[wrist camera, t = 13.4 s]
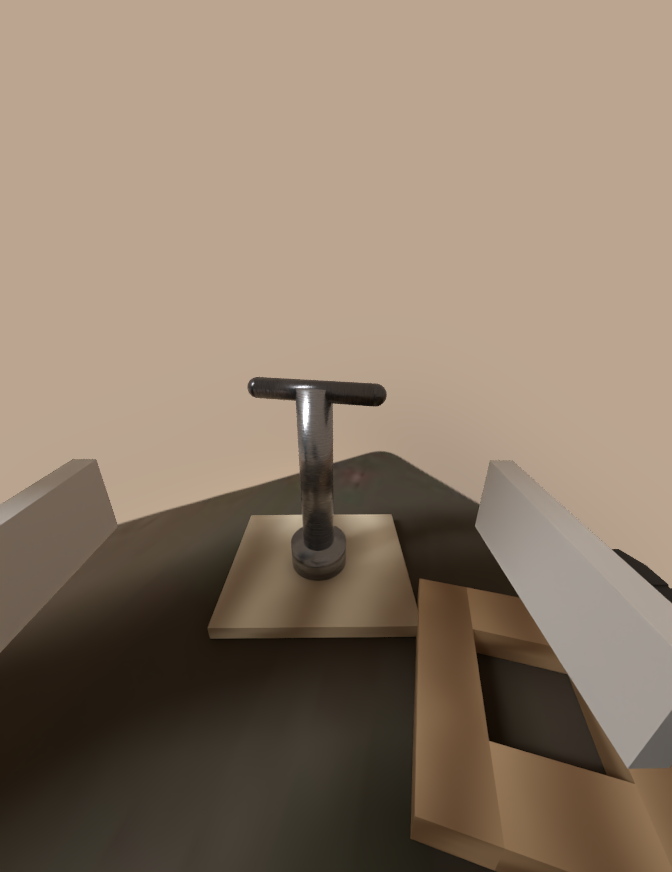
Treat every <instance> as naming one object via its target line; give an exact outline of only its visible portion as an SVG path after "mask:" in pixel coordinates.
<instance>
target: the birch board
mask: <svg viewBox="0 0 672 872" xmlns="http://www.w3.org/2000/svg"><path fill="white" fill-rule="evenodd" d="M333 519H334V526H336V527H338V528H339V529H341V530H342V531H343V533H344V534H345V537H346V564H345V566H344V568H343V570H342V571H341V572H340V573H339V574H338V575H337V576H335V577H333V578H331V579H328V580H323V581H312V580H308V579H305V578H303V577H301V576H300V575H298V574H297V573H296V571H295V570H294V568H293V563H292V550H291V539H292V537H293V535H294V533H295V532H296V531H297V530H298V529H300V528H301V527H303V521H302V515H251V518H250V521H249V523H248V526H247V528H246V531H245V533H244V536H243V538H242V541H241V544H240V546H239V549H238V551H237V554H236V556H235V559H234V561H233V564H232V567H231V569H230V572H229V574H228V577H227V579H226V582H225V584H224V587H223V590H222V592H221V595H220V597H219V600H218V602H217V605H216V607H215V610H214V613H213V615H212V618H211V620H210V623H209V625H208V628H207V629H208V633H209V637H210V639H228V638H333V637H416V634H417V626H418V608H417V605H416V601H415V597H414V594H413V590H412V587H411V583H410V579H409V576H408V572H407V569H406V565H405V561H404V558H403V554H402V551H401V547H400V543H399V540H398V536H397V533H396V529H395V525H394V522H393V518H392V515H391V514H376V515H333Z"/></svg>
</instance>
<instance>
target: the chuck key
mask: <svg viewBox="0 0 672 872" xmlns="http://www.w3.org/2000/svg"><path fill="white" fill-rule="evenodd" d="M248 391H249V393H250V394H251V395H252V396H253V397H256V398H266V399H280V400H294V401H296V410H297V428H298V447H299V465H300V484H301V503H302V521H303V527H301V528H300V529H298V530H297V531H296V532H295V533H294V535H293V537H292V539H291V550H292V563H293V568H294V570H295V571H296V573H297V574H298V575H300V576H301V577H303V578H305V579H308V580H312V581H323V580H328V579H331V578H333V577H335V576H337V575H338V574H339V573H340V572H341V571H342V570H343V568H344V566H345V564H346V537H345V534H344V533H343V531H342V530H341V529H339V528H338V527H336V526H334V519H333V411H332V410H333V408H332V407H333V406H332V405H333V403H335V404H349V405H363V406H379V405H381V404H382V403H383V402H384V401H385V400H386V390H385V389H384V387H383V386H381V385H379V384H372V383H354V382H335V381H318V380H300V379H281V378H264V377H256V378H253V379H251V380H250V381H249V383H248Z"/></svg>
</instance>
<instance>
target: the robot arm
mask: <svg viewBox="0 0 672 872" xmlns="http://www.w3.org/2000/svg"><path fill="white" fill-rule="evenodd" d="M117 527H118V525H117V522H116V519H115V515H114V512H113V509H112V506H111V503H110V500H109V497H108V494H107V491H106V488H105V485H104V482H103V479H102V476H101V473H100V470H99V466H98V463H97V460H96V459H72V460H71V461H69V462H68V463H66V464H64V465H63V466H61V467H60V468H58V469H57V470H55V471H53V472H52V473H50V474H48V475H47V476H45V477H44V478H42V479H40V480H39V481H37V482H36V483H34V484H32V485H31V486H29V487H28V488H26V489H24V490H23V491H21V492H20V493H18V494H17V495H15V496H13V497H12V498H10V499H8V500H7V501H5V502H4V503H2V504H0V652H1V651H2V650H3V649H4V648H5V647H6V646H7V645H8V644H9V643H10V642H11V641H12V640H13V639H14V637H15V636H16V635H17V634H18V633H19V632H20V631H21V630H22V629H23V628H24V627H25V626H26V625H27V624H28V622H29V621H30V620H31V619H32V618H33V617H34V616H35V615H36V614H37V613H38V612H39V611H40V610H41V609H42V607H43V606H44V605H45V604H46V603H47V602H48V601H49V600H50V599H51V598H52V597H53V596H54V595H55V594H56V592H57V591H58V590H59V589H60V588H61V587H62V586H63V585H64V584H65V583H66V582H67V581H68V580H69V579H70V577H71V576H72V575H73V574H74V573H75V572H76V571H77V570H78V569H79V568H80V567H81V566H82V565H83V564H84V562H85V561H86V560H87V559H88V558H89V557H90V556H91V555H92V554H93V553H94V552H95V551H96V550H97V549H98V547H99V546H100V545H101V544H102V543H103V542H104V541H105V540H106V539H107V538H108V537H109V536H110V535H111V534H112V532H113V531H114V530H115V529H116V528H117ZM475 527H476V529H477V530H478V532H479V533H480V535H481V537H482V538H483V540H484V541H485V543H486V545H487V546H488V548H489V549H490V551H491V553H492V554H493V556H494V557H495V559H496V560H497V562H498V564H499V565H500V567H501V568H502V570H503V572H504V573H505V575H506V576H507V578H508V580H509V581H510V583H511V584H512V586H513V587H514V589H515V591H516V592H517V594H518V595H519V597H520V599H521V600H522V602H523V603H524V605H525V607H526V608H527V610H528V611H529V613H530V614H531V616H532V618H533V619H534V621H535V622H536V624H537V626H538V627H539V629H540V630H541V632H542V634H543V635H544V637H545V638H546V640H547V641H548V643H549V645H550V646H551V648H552V649H553V651H554V653H555V654H556V656H557V657H558V659H559V661H560V662H561V664H562V665H563V667H564V668H565V670H566V672H567V673H568V675H569V676H570V678H571V680H572V681H573V683H574V684H575V686H576V688H577V689H578V691H579V692H580V694H581V695H582V697H583V699H584V700H585V702H586V703H587V705H588V707H589V708H590V710H591V711H592V713H593V715H594V716H595V718H596V719H597V721H598V722H599V724H600V726H601V727H602V729H603V730H604V732H605V734H606V735H607V737H608V738H609V740H610V742H611V743H612V745H613V746H614V748H615V750H616V751H617V753H618V754H619V756H620V757H621V759H622V761H623V762H624V764H625V765H626V767H627V769H644V768H670V767H671V766H672V589H670V588H669V587H668V584H667V583H666V582H665V581H664V580H662V579H661V578H660V577H659V576H658V575H656V574H655V573H654V572H653V571H652V570H650V569H649V568H648V567H647V566H646V565H644V564H643V563H641V562H639V561H638V560H636V559H634V558H633V557H631V556H629V555H627V554H626V553H624V552H622V551H621V550H619V549H611V548H609V547H608V546H607V545H606V544H605V543H604V542H603V541H602V540H600V539H599V538H598V537H597V536H596V535H595V534H593V532H591V531H590V530H589V529H588V528H587V527H586V526H585V525H584V524H583V523H581V522H580V521H579V520H578V519H577V518H576V517H575V516H574V515H573V514H571V513H570V512H569V511H568V510H567V509H566V508H565V507H564V506H563V505H561V504H560V503H559V502H558V501H557V500H556V499H555V498H554V497H553V496H551V495H550V494H549V493H548V492H547V491H546V490H545V489H543V487H541V486H540V485H539V484H538V483H537V482H536V481H535V480H534V479H532V478H531V477H530V476H529V475H528V474H527V473H526V472H525V471H524V470H522V469H521V468H520V467H519V466H518V465H517V464H516V463H515V462H513V461H490V463H489V467H488V472H487V476H486V481H485V485H484V490H483V493H482V498H481V502H480V506H479V511H478V515H477V520H476V524H475Z"/></svg>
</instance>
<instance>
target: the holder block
mask: <svg viewBox="0 0 672 872" xmlns="http://www.w3.org/2000/svg"><path fill="white" fill-rule="evenodd" d="M417 608H418V626H417V634H416V658H415V693H414V729H413V765H412V800H411V836H410V839H412V840H415V841H418V842H420V843H423V844H425V845H428V846H431V847H433V848H436V849H439V850H441V851H444V852H447V853H449V854H452V855H454V856H457V857H460V858H462V859H465V860H468V861H470V862H473V863H475V864H478V865H481V866H483V867H486V868H489V869H491V870H494V871H496V872H672V766H671V767H670V768H644V769H627V767H626V765H625V764H624V762H623V761H622V759H621V757H620V756H619V754H618V753H617V751H616V750H615V748H614V746H613V745H612V743H611V742H610V740H609V738H608V737H607V735H606V734H605V732H604V730H603V729H602V727H601V726H600V724H599V722H598V721H597V719H596V718H595V716H594V715H593V713H592V711H591V710H590V708H589V707H588V705H587V703H586V702H585V700H584V699H583V697H582V695H581V694H580V692H579V691H578V689H577V688H576V686H575V684H574V683H573V681H572V680H571V678H570V676H569V675H568V676H569V679H570V682H571V684H572V687H573V689H574V692H575V694H576V697H577V700H578V702H579V705H580V707H581V710H582V713H583V715H584V718H585V720H586V723H587V726H588V728H589V731H590V733H591V736H592V739H593V741H594V744H595V746H596V749H597V751H598V754H599V757H600V759H601V762H602V764H603V767H604V770H605V772H606V775H603V774H600V773H596V772H593V771H589V770H586V769H583V768H579V767H576V766H572V765H569V764H566V763H562V762H559V761H555V760H552V759H549V758H545V757H542V756H538V755H535V754H532V753H528V752H525V751H521V750H518V749H515V748H511V747H508V746H504V745H501V744H498V743H494V742H491V741H489V738H488V731H487V724H486V717H485V710H484V703H483V696H482V690H481V683H480V676H479V669H478V662H477V655H476V653H479V654H484V655H488V656H492V657H496V658H501V659H505V660H509V661H513V662H518V663H522V664H526V665H530V666H535V667H539V668H543V669H547V670H552V671H556V672H560V673H564V674H568V673H567V672H566V670H565V668H564V667H563V665H562V664H561V662H560V661H559V659H558V657H557V656H556V654H555V653H554V651H553V649H552V648H551V646H550V645H549V643H548V641H547V640H546V638H545V637H544V635H543V634H542V632H541V630H540V629H539V627H538V626H537V624H536V622H535V621H534V619H533V618H532V616H531V614H530V613H529V611H528V610H527V608H526V607H525V605H524V603H523V602H522V600H521V599H520V598H519V597H514V596H509V595H503V594H498V593H493V592H488V591H483V590H477V589H472V588H467V587H462V586H457V585H451V584H446V583H441V582H436V581H430V580H425V579H420V580H419V588H418V596H417Z"/></svg>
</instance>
